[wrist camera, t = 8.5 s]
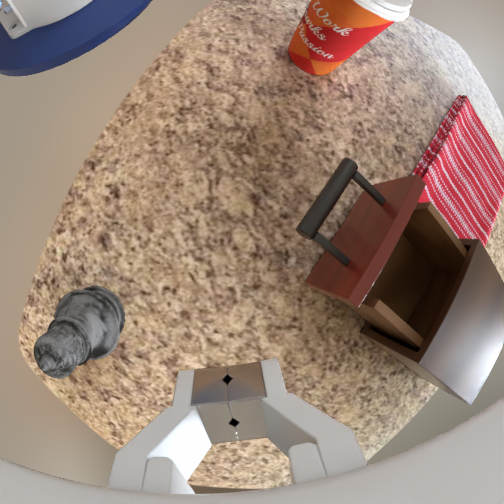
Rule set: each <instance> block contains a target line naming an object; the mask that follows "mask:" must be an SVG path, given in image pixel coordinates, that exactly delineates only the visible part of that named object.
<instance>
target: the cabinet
mask: <svg viewBox="0 0 504 504" xmlns="http://www.w3.org/2000/svg"><path fill="white" fill-rule="evenodd" d="M459 240H460V241H461V243H462V244H463V246H464V247H465V249H466V250H467V252H468V254H467V257H466V259H465V261H464V264H463V266H462V268H461V271H460V273H459V275H458V278H457V280H456V282H455V284H454V286H453V288H452V291H451V293H450V295H449V297H448V299H447V301H446V303H445V305H444V307H443V309H442V311H441V313H440V315H439V316H438V318H437V320H436V322H435V324H434V326H433V327H432V329H431V331H430V333H429V335H428V336H427V338H426V340H425V341H424V343H423V345H422V346H421V348H420V350H419V351H418V353H417V352H415V351H413V350H411V349H409V348H407V347H405V346H403V345H401V344H399V343H397V342H395V341H393V340H391V339H390V338H388V337H387V336H386V335H385V334H383V333H382V332H381V331H380V330H378V329H377V328H376V327H374V326H373V325H372V324H371V323H369V322H368V321H367V322H366V324H365V325H364V327H363V328H362V330H361V331H360V333H361V334H363V335H364V336H365V337H367V338H368V339H369V340H371V341H372V342H374V343H375V344H376V345H378V346H379V347H380V348H382V349H383V350H384V351H386V352H387V353H389V354H390V355H391V356H393V357H394V358H395V359H397V360H398V361H399V362H401V363H402V364H404V365H405V366H406V367H408V368H409V369H410V370H412V371H413V372H414V373H416V374H417V375H419V376H420V377H421V378H423V379H425V380H426V381H428V382H430V383H432V384H433V385H435V386H437V387H439V388H440V389H442V390H444V391H446V392H447V393H449V394H451V395H453V396H455V397H456V398H458V399H460V400H462V401H464V402H465V403H467V404H469V405H471V404H472V402H473V401H474V399H475V397H476V396H477V394H478V392H479V391H480V389H481V387H482V386H483V384H484V382H485V380H486V378H487V377H488V375H489V373H490V371H491V369H492V367H493V365H494V363H495V361H496V359H497V357H498V355H499V353H500V351H501V349H502V347H503V345H504V283H503V281H502V279H501V277H500V275H499V273H498V271H497V269H496V267H495V265H494V264H493V262H492V260H491V258H490V256H489V255H488V253H487V251H486V249H485V248H484V246H483V244H482V243H481V241H480V239H462V238H459Z"/></svg>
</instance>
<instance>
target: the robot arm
mask: <svg viewBox="0 0 504 504" xmlns="http://www.w3.org/2000/svg"><path fill="white" fill-rule="evenodd" d="M91 1H93V0H0V23H1V24H2V26H3V27H4V29H5V30H6V32H7V33H8V35H9V36H10V38H11V39H16V38H18V37H20V36H22V35H24V34H25V33H27V32H29V31H30V30H32V29H35V28H38V27H42V26H45V25H48V24H51V23H54V22H56V21H59V20H61V19H63V18H65V17H67V16H69V15H71V14H73V13H75V12H76V11H78V10H80V9H81V8H83V7H84V6H86V5H87V4H89V3H90V2H91ZM260 438H268V439H269V440H270V441H271V442H272V443H273V444H274V445H275V446H276V447H278V448H279V449H280V450H281V451H282V452H283V453H284V454H285V455H286V456H287V457H288V458H289V466H290V477H291V485H288V486H282V487H276V488H269V489H262V490H254V491H244V492H234V493H218V494H195V492H194V491H193V490H192V488H191V487H190V485H189V484H188V483H187V480H188V479H189V477H190V476H191V475H192V473H193V472H194V470H195V469H196V467H197V466H198V465H199V463H200V462H201V460H202V459H203V457H204V456H205V455H206V453H207V452H208V450H209V449H210V447H211V446H212V445H211V444H215V443H225V442H233V441H241V440H251V439H260ZM0 504H504V397H502V398H501V399H500V400H498V401H497V402H495V403H494V404H492V405H491V406H489V407H487V408H486V409H484V410H483V411H481V412H480V413H478V414H476V415H475V416H473V417H472V418H470V419H468V420H466V421H465V422H463V423H461V424H459V425H458V426H456V427H454V428H452V429H450V430H448V431H446V432H445V433H443V434H441V435H439V436H437V437H435V438H433V439H430V440H428V441H426V442H425V443H422V444H420V445H418V446H415V447H413V448H411V449H409V450H406V451H404V452H402V453H399V454H396V455H394V456H391V457H389V458H386V459H383V460H381V461H378V462H375V463H372V464H369V465H368V464H367V462H366V459H365V457H364V455H363V453H362V450H361V448H360V446H359V443H358V441H357V439H356V437H355V434H354V432H353V430H352V429H350V428H348V427H347V426H345V425H343V424H342V423H340V422H338V421H336V420H335V419H333V418H331V417H330V416H328V415H326V414H325V413H323V412H322V411H320V410H318V409H317V408H315V407H314V406H312V405H310V404H309V403H307V402H306V401H304V400H302V399H301V398H299V397H298V396H296V395H295V394H293V393H287V392H286V388H285V384H284V381H283V377H282V373H281V369H280V365H279V362H278V359H277V358H272V359H267V360H262V361H259V362H253V363H246V364H239V365H232V366H223V367H213V368H202V369H196V370H195V369H191V370H180V371H179V372H178V374H177V380H176V385H175V390H174V396H173V402H172V407H167V408H166V409H165V410H163V411H162V412H161V413H160V414H159V415H158V416H157V417H156V418H155V419H154V420H153V421H151V422H150V423H149V424H148V425H147V426H146V427H145V428H144V429H143V430H142V431H140V432H139V433H138V434H137V435H136V436H135V437H134V438H133V439H131V440H130V441H129V442H128V443H127V444H126V445H125V446H124V447H122V448H121V449H120V450H119V451H118V452H117V453H116V455H115V458H114V462H113V465H112V469H111V473H110V476H109V481H108V484H107V487H101V486H95V485H90V484H85V483H80V482H75V481H72V480H67V479H63V478H60V477H56V476H52V475H49V474H45V473H42V472H39V471H36V470H33V469H29V468H27V467H24V466H21V465H18V464H16V463H13V462H10V461H8V460H5V459H3V458H0Z"/></svg>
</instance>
